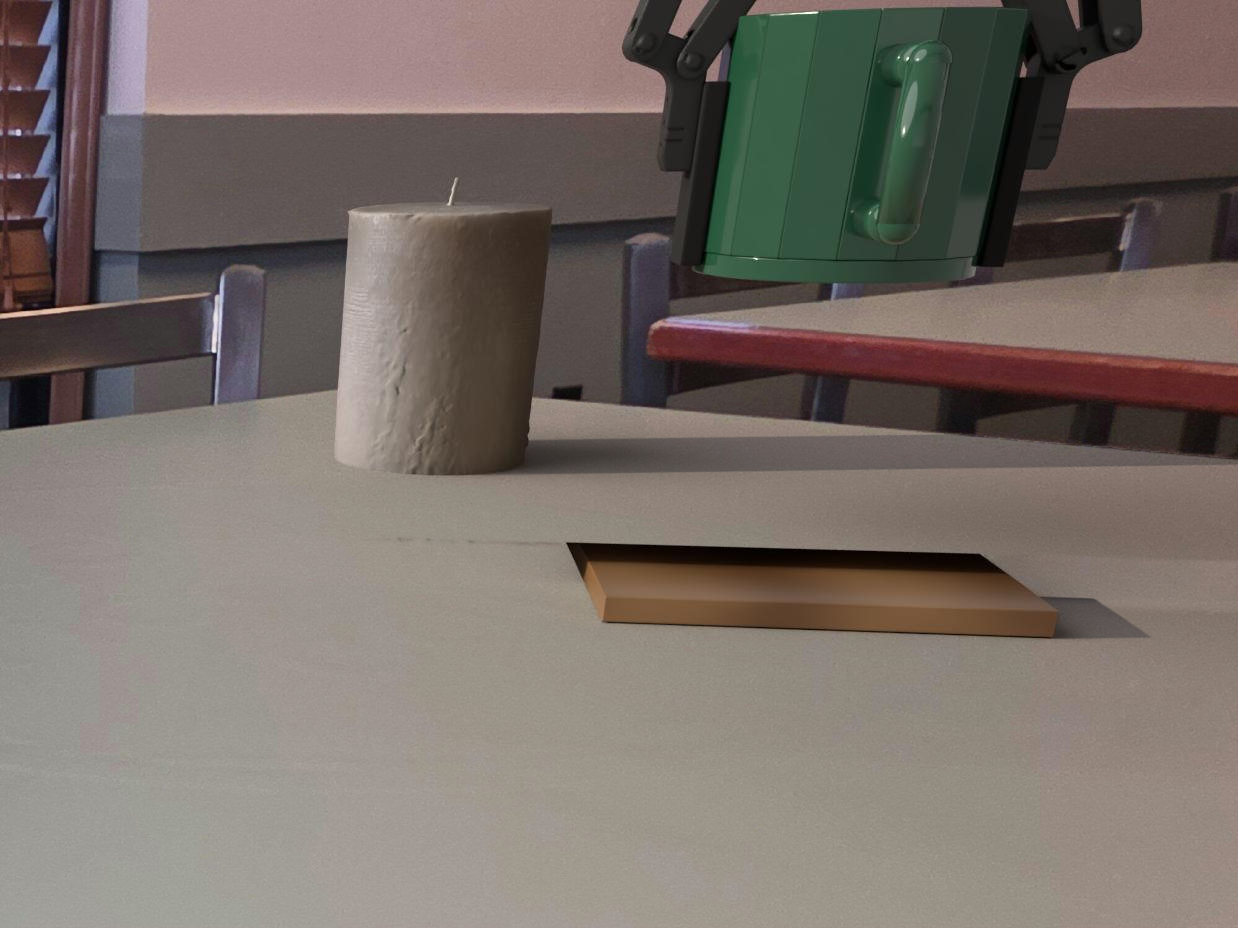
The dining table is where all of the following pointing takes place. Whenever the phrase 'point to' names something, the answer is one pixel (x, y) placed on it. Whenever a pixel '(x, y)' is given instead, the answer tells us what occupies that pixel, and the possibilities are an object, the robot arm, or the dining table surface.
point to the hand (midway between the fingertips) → (830, 264)
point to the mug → (862, 143)
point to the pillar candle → (440, 335)
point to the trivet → (809, 589)
